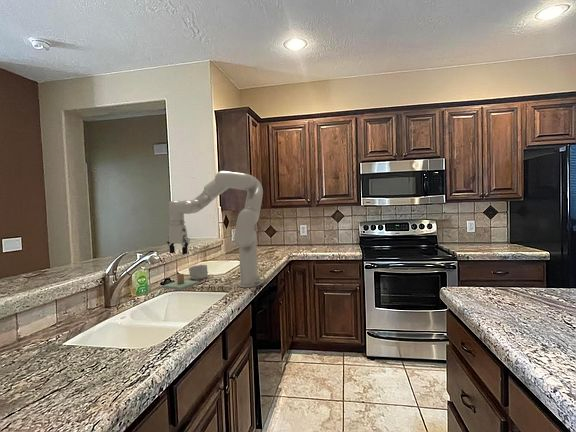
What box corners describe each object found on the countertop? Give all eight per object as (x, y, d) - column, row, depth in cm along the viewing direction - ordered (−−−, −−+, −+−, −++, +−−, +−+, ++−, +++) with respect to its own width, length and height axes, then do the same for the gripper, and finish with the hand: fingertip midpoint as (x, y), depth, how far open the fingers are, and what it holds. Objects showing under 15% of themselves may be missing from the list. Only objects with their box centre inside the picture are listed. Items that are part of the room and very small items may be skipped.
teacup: (202, 281, 194) (202, 268, 193) (185, 281, 196) (185, 268, 195) (213, 276, 207) (212, 263, 207) (197, 275, 209) (196, 263, 209)
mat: (203, 283, 189) (203, 282, 189) (180, 291, 174) (180, 290, 174) (181, 281, 197) (181, 280, 197) (158, 288, 182) (158, 287, 182)
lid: (198, 283, 188) (197, 272, 188) (180, 288, 177) (179, 278, 176) (181, 281, 194) (180, 271, 194) (163, 286, 183) (162, 276, 183)
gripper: (193, 222, 183) (194, 253, 184) (171, 222, 191) (172, 251, 192) (183, 223, 176) (184, 255, 177) (160, 223, 185) (162, 253, 185)
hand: (178, 253), depth 185 cm, fingers open, 9 cm apart
